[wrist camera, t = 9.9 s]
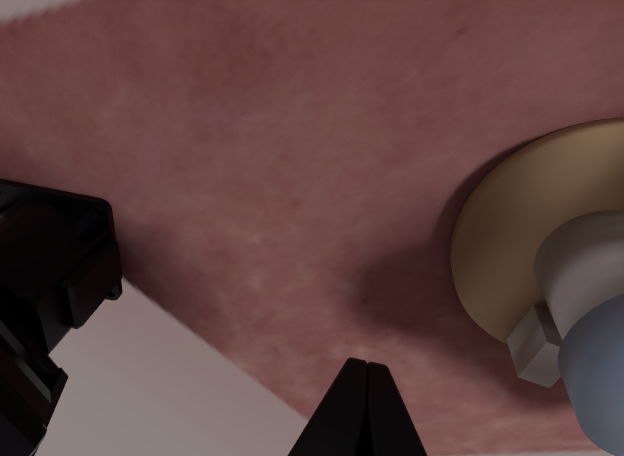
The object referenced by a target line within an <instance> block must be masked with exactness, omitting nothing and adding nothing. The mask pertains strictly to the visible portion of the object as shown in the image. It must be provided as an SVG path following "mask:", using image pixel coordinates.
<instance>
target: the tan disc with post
mask: <svg viewBox="0 0 624 456" xmlns="http://www.w3.org/2000/svg"><path fill="white" fill-rule="evenodd" d="M450 261H451V269H452V275H453V280H454V284H455V289H456V292H457V294H458V297H459V299H460V301H461V303H462V305H463V306H464V308H465V310H466V311H467V313H468V314H469V315H470V317H471V318H472V319H473V320H474V321H475V322H476V323H477V324H478V325H479V326H480V327H481V328H482V329H483V330H485V331H486V332H487V333H488V334H490V335H491V336H493V337H494V338H496V339H497V340H499V341H501V342H503V343H505V344H507V345H508V346H509V350H510V353H511V357H512V360H513V364H514V367H515V371H516V375H517V377H518V378H521V379H524V380H527V381H530V382H533V383H535V384H538V385H541V386H544V387H547V388H551V387H552V386H553V385H554V384H555V383H556V382H557V381H558V380H559V379H560V378H561V375H560V372H559V367H558V354H559V349H560V346H561V344H562V341H563V339H564V337H565V336H566V334H567V333H568V331H569V330H570V329H571V327H572V326H573V325H574V324H575V323H576V322H577V321H578V320H579V319H580V318H581V317H582V316H583V315H585V314H586V313H588V312H589V311H590V310H592V309H593V308H595V307H596V306H598V305H600V304H601V303H603V302H605V301H607V300H609V299H611V298H614V297H616V296H618V295H621V294H624V118H612V119H604V120H596V121H590V122H586V123H582V124H578V125H574V126H570V127H567V128H564V129H561V130H559V131H556V132H553V133H550V134H548V135H546V136H543V137H541V138H539V139H537V140H535V141H533V142H531V143H529V144H527V145H526V146H524V147H522V148H521V149H519V150H518V151H516V152H514V153H513V154H511V155H510V156H508V157H507V158H506V159H505V160H503V161H502V162H501V163H499V164H498V165H497V166H496V167H494V168H493V169H492V170H491V171H490V172H489V173H488V174H487V175H486V176H485V177H484V178H483V179H482V180H481V181H480V183H479V184H478V185H477V186H476V188H475V189H474V190H473V191H472V193H471V194H470V195H469V197H468V199H467V200H466V202H465V204H464V205H463V207H462V209H461V211H460V213H459V215H458V218H457V220H456V222H455V226H454V229H453V233H452V237H451V246H450Z"/></svg>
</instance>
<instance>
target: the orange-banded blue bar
mask: <svg viewBox="0 0 624 456" xmlns="http://www.w3.org/2000/svg"><path fill="white" fill-rule="evenodd" d="M558 367H559V372H560V375H561V377H562V380H563V382H564V385H565V388H566V390H567V393H568V395H569V398H570V401H571V403H572V406H573V408H574V411H575V414H576V416H577V419H578V421H579V424H580V426H581V429H582V430H583V432H584V433H585V435H586V436H587V437H588V438H589V439H590V440H591V441H592V442H593V443H594V444H596V445H597V446H598V447H600V448H601V449H603V450H605V451H607V452H608V453H610V454H613V455H615V456H624V294H621V295H618V296H616V297H614V298H611V299H609V300H607V301H605V302H603V303H601V304H600V305H598V306H596V307H595V308H593V309H592V310H590V311H589V312H588V313H586V314H585V315H583V316H582V317H581V318H580V319H579V320H578V321H577V322H576V323H575V324H574V325H573V326H572V327H571V329H570V330H569V331H568V333H567V334H566V336H565V337H564V339H563V341H562V344H561V346H560V349H559V354H558Z"/></svg>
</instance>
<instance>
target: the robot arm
mask: <svg viewBox="0 0 624 456" xmlns="http://www.w3.org/2000/svg"><path fill="white" fill-rule="evenodd" d="M98 207H100V208H101V209H102V210H103V211H101V210H100V209H99V208H98ZM121 279H122V271H121V263H120V255H119V247H118V242H117V240H116V237H115V229H114V221H113V213H112V208H111V205H110V204H109V203H108V202H107V201H106V200H104V199H101V198H95V197H90V196H85V195H80V194H75V193H70V192H65V191H59V190H54V189H49V188H44V187H39V186H34V185H28V184H23V183H18V182H13V181H8V180H3V179H0V456H34V455H35V453H36V451H37V449H38V447H39V445H40V444H41V442H42V441H43V439H44V437H45V435H46V431H47V426H48V424H49V422H50V419H51V417H52V415H53V412H54V410H55V407H56V405H57V403H58V400H59V398H60V396H61V393H62V391H63V389H64V386H65V384H66V382H67V379H68V375H67V374H66V373H65V372H64V370H62V368H58V366H57V365H56V364H55V363H54V362H53V361H52V359H51V358H50V357H49V356H48V354H50V352H51V351H52V350H53V349H54V348H55V347H56V345H57V344H58V343H59V342H60V341H61V340H62V338H63V337H64V336H65V335H66V334H67V333H68V331H69V330H70V329H71V328H74V329H78V328H80V327H81V326H83V325H84V324H85V322H86V321H87V320H88V319H89V317H90V316H91V315H92V314H93V313H94V311H95V310H96V309H97V308H98V307H99V305H100V304H101V303H102V302H103V301H104V299H108V300H117V299H118V298H119V297H120V295H121V294H122V284H121ZM112 291H113V292H112ZM288 456H427V454H426V451H425V449H424V447H423V445H422V442H421V440H420V438H419V436H418V433H417V431H416V429H415V427H414V424H413V422H412V420H411V418H410V415H409V413H408V411H407V409H406V406H405V404H404V402H403V400H402V398H401V395H400V393H399V391H398V389H397V386H396V384H395V382H394V380H393V377H392V375H391V373H390V371H389V369H388V367H387V366H386V365H384V364H380V363H375V362H368V363H367V362H366V361H365V360H361V359H356V358H348V359H347V360H346V362H345V364H344V365H343V367H342V368H341V370H340V372H339V373H338V375H337V377H336V378H335V380H334V381H333V383H332V385H331V386H330V388H329V389H328V391H327V393H326V394H325V396H324V398H323V399H322V401H321V402H320V404H319V406H318V407H317V409H316V411H315V412H314V414H313V415H312V417H311V419H310V420H309V422H308V424H307V425H306V427H305V428H304V430H303V432H302V433H301V435H300V437H299V438H298V440H297V442H296V443H295V445H294V446H293V448H292V450H291V451H290V453H289V454H288Z"/></svg>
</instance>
